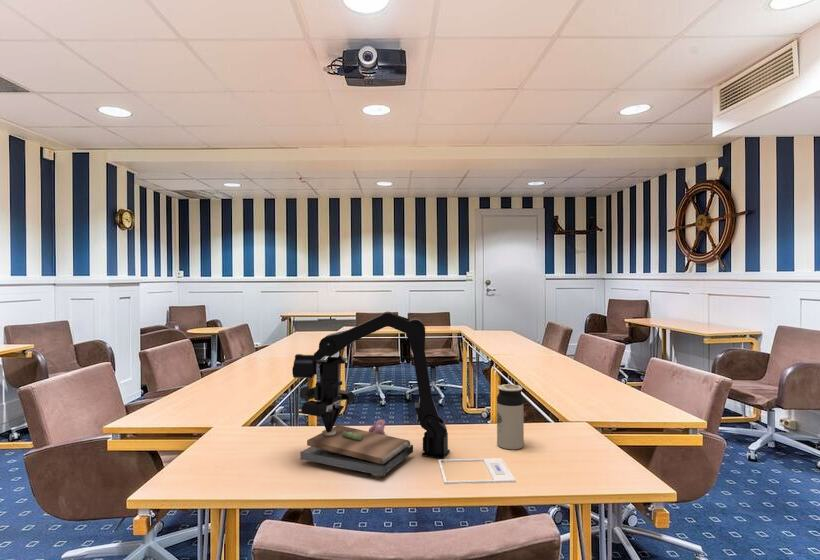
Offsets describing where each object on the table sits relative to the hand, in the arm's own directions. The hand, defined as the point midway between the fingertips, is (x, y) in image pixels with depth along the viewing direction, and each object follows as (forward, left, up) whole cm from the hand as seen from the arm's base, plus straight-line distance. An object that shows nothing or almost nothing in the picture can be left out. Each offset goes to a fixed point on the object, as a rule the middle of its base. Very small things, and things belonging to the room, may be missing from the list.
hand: (328, 431), depth 134 cm
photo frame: (-42, -7, -8) cm, 43 cm away
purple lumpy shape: (-5, -19, -7) cm, 21 cm away
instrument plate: (-10, 0, -2) cm, 11 cm away
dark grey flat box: (-10, 0, -7) cm, 12 cm away
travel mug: (-46, -30, -7) cm, 55 cm away
